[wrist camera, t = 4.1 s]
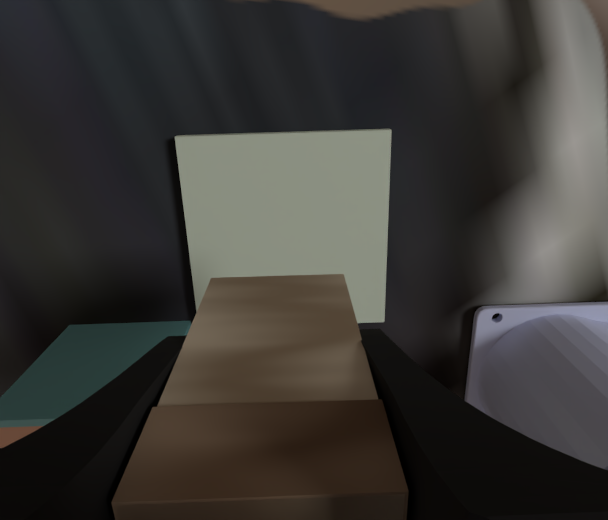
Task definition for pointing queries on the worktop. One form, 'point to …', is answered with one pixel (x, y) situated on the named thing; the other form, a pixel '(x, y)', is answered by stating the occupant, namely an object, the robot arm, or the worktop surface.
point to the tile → (76, 371)
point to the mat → (289, 208)
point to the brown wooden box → (268, 414)
